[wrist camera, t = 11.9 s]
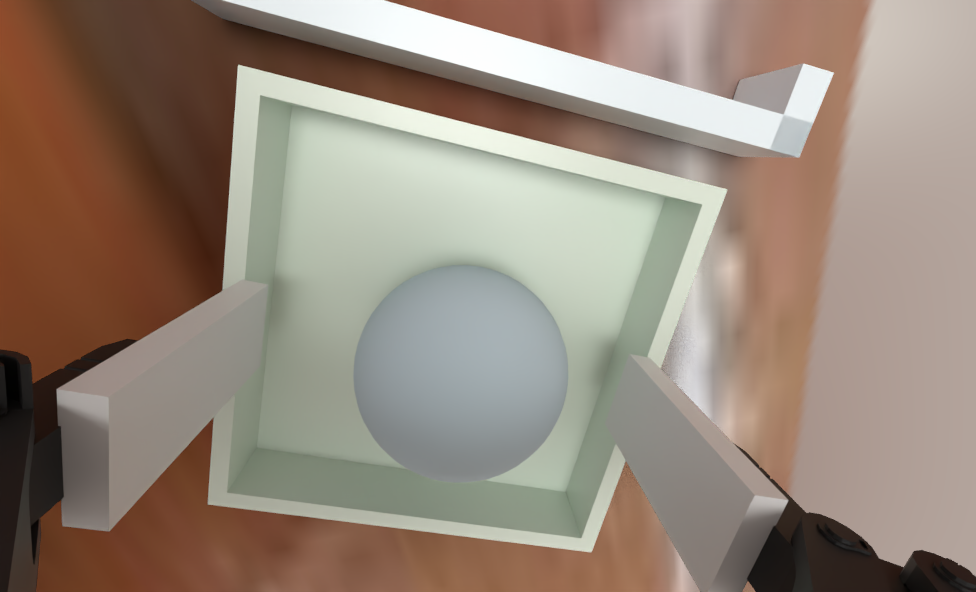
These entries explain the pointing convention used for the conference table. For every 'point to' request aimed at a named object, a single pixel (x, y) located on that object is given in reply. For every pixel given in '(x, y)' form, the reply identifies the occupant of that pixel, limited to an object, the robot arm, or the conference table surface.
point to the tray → (416, 249)
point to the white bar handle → (553, 73)
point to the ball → (460, 373)
